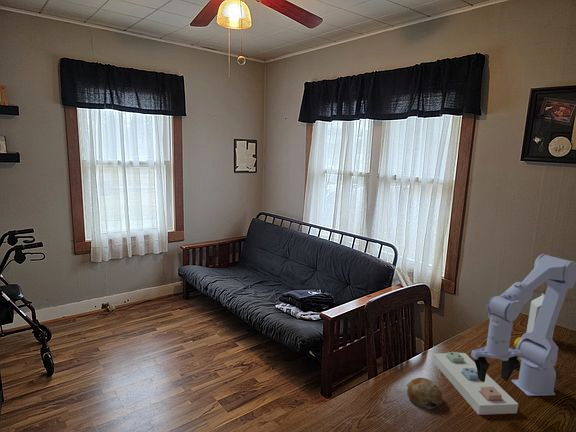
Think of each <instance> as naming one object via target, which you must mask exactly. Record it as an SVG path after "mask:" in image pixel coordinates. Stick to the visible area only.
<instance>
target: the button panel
mask: <svg viewBox="0 0 576 432" xmlns="http://www.w3.org/2000/svg"><path fill="white" fill-rule="evenodd" d="M458 353H459V354H460V355H461V356H462V357H463V358H464V362H463V363H451V361H450V360H449V359H448V358H447V352H446V353H445V352H444V353H439V352H437V353H432V354H433V355H432V362H433V363H434V365H435V366H436V367H437V368H438V369H439V370H440V371H441V373H442V374H443V375H444V376H445V378H446V379H447V380H448V381H449V382H450V383H451V384H452V386H453V387H454V388H455V389H456V390H457V392H458V394H459V395H461V397H463V399H464V400H465V401H466V402H467V403H468V404H469V406H470V407H471V408H472V409H473V411H475V413H476V414H477V415H479V416H480V415H483V416H484V415H506V414H507V415H508V414H517V413H518V408H519V403H518V402H517V401H516V400H515V399H514V398H513V397H512V396H511V395H509V394H508V393H507V392H506V390H504V389H503V388H502V386H500V385H499V384H498V383H497V382H496V381H495V380H494V379H492V377H490V376H489V375H488V373H486V377H485V381H484V382H482V381H481V380H477V381H468V380H467V379H466V377H465V376H464V375H463V374H462V370H463V368H475V369H476V370H477V368H476V364H475V361H474V359H473V358H472V359H471V357H470V356H469V355H468V354H466V353H465V352H458ZM481 387H494V388H495V389H496V390H497V391H498V392H499V393H500V394H501V395H502V397H501V401H487V400H486V399H485V398H484V397H483V396H482V395H481V393H480V390H481Z"/></svg>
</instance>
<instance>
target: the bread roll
mask: <svg viewBox="0 0 576 432" xmlns="http://www.w3.org/2000/svg"><path fill="white" fill-rule="evenodd" d="M406 387H407V390H406V395H407V397H408V399H409V400H410V401H411V402H412V403H413V404H415V405H416V406H418V407H420V408H423V409H424V408H425V409H426V410H431V409H434V408H436V407H439V406H441V404H442V402H443V394H442V391H441V389H440V388H439V387H438V386H437V384H436V383H434V381H432V380H430V379H429V378H425V377H416V378H413V379H410V381H409V382H408V383H407V385H406Z"/></svg>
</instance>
